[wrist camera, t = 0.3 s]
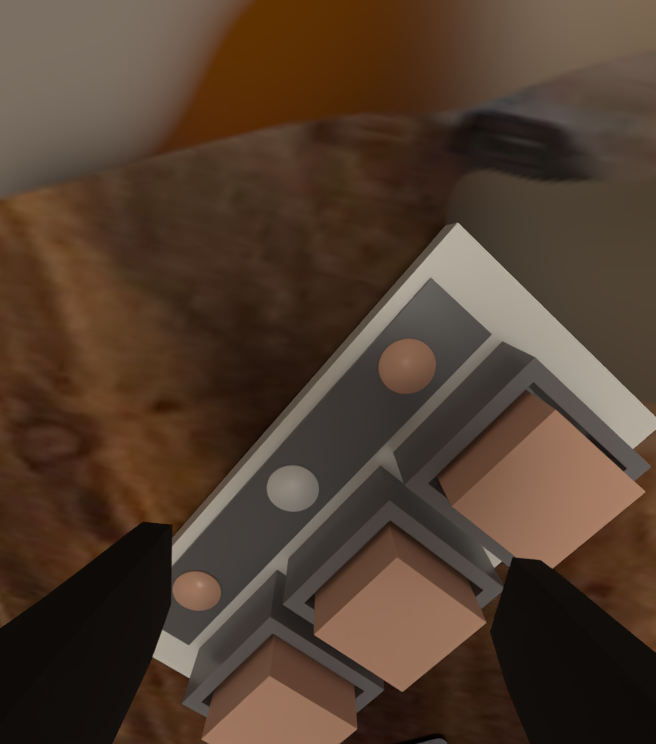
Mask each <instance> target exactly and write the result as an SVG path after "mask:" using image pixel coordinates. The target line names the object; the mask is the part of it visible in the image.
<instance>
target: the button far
mask: <svg viewBox="0 0 656 744" xmlns="http://www.w3.org/2000/svg"><path fill="white" fill-rule="evenodd" d="M356 730H357V716H356V702H355V687H354V684H352V683H351V682H349V681H348V680H346V679H345V678H343V677H341V676H340V675H338V674H337V673H335V672H333V671H332V670H330V669H329V668H327V667H325V666H324V665H322V664H321V663H319V662H318V661H316V660H314V659H313V658H311V657H310V656H308V655H306V654H305V653H303V652H302V651H300V650H298V649H297V648H295V647H294V646H292V645H291V644H289V643H287V642H286V641H284V640H283V639H281V638H279V637H278V636H276V635H275V634H273V633H272V634H271V635H270V636H269V637H268V638H267V639H266V640H265V641H264V642H263V643H262V644H261V645H260V646H259V647H258V648H257V649H256V650H255V651H254V652H253V653H252V654H251V655H250V656H249V657H248V658H247V659H245V660H244V661H243V662H242V663H241V664H240V665H239V666H238V667H237V668H236V669H235V670H234V671H233V672H232V673H231V674H230V675H229V676H228V677H227V678H226V679H225V680H224V681H223V682H222V683H221V684H220V685H218V686H217V687H216V688H215V689H214V691H213V695H212V699H211V703H210V707H209V711H208V715H207V719H206V723H205V727H204V731H203V735H202V740H203V741H205V742H207V743H209V744H340V743H341V742H342V741H343V740H345V739H346V738H347V737H348V736H349V735H351V734H352V733H353V732H354V731H356Z"/></svg>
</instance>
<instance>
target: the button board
mask: <svg viewBox="0 0 656 744" xmlns="http://www.w3.org/2000/svg"><path fill="white" fill-rule="evenodd" d="M525 390H527V391H529V392H530V393H532V394H533V395H535V396H536V397H538V398H539V399H541V400H542V401H544V402H545V403H547V404H548V405H550V406H551V407H553V408H554V409H556V410H557V411H558V412H559V413H560V414H561V415H562V416H563V417H565V418H566V419H567V420H568V421H569V422H570V423H571V424H572V425H573V426H574V427H575V428H576V429H578V430H579V431H580V432H581V433H582V434H583V435H584V436H585V437H586V438H587V439H588V440H590V441H591V442H592V443H593V444H594V445H595V446H596V447H597V448H598V449H599V450H600V451H602V452H603V453H604V454H605V455H606V456H607V457H608V458H609V459H610V460H611V461H612V462H614V463H615V464H616V465H617V466H618V467H619V468H620V469H621V470H622V471H623V472H624V473H625V474H627V475H628V476H629V477H630V478H631V479H632V480H633V481H635V480H636V479H637V478H638V477H640V476H641V475H642V474H643V473H644V472H646V471H647V470H648V469H649V468H650V467H651V466H650V465H649V464H648V463H647V462H646V461H645V460H644V459H643V458H642V457H641V456H640V455H638V454H637V453H636V452H635V451H634V450H633V448H635V447H636V446H637V445H638V444H639V443H640V442H642V441H643V440H644V439H645V438H646V437H647V436H649V435H650V434H651V433H652V432H653V431H654V430H656V417H655V416H654V415H653V414H652V413H651V412H650V411H649V410H648V409H647V408H646V407H645V406H644V405H643V404H642V403H641V402H640V401H639V400H638V399H637V398H636V397H635V396H634V395H633V394H632V393H631V392H629V391H628V390H627V389H626V388H625V387H624V386H623V385H622V384H621V383H620V382H619V381H618V380H617V379H616V378H615V377H614V376H613V375H612V374H611V373H610V372H609V371H608V370H607V369H606V368H605V367H604V366H603V365H602V364H601V363H600V362H599V361H598V360H597V359H596V358H595V357H594V356H593V355H592V354H591V353H590V352H589V351H588V350H587V349H586V348H585V347H584V346H583V345H582V344H581V343H580V342H578V340H577V339H575V338H574V337H573V335H572V334H571V333H570V332H568V331H567V330H566V329H565V328H564V327H563V326H562V325H561V324H560V323H559V322H558V321H557V320H556V319H555V318H554V317H553V316H552V315H551V314H550V313H549V312H548V311H547V310H546V309H545V308H544V307H543V306H542V305H541V304H540V303H539V302H538V301H537V300H536V299H535V298H534V297H533V296H532V295H531V294H530V293H529V292H528V291H527V290H525V288H524V287H523V286H522V285H521V284H519V282H518V281H517V280H516V279H514V277H513V276H511V274H510V273H508V272H507V271H506V270H505V269H504V268H503V267H502V266H501V265H500V264H499V263H498V262H497V261H496V260H495V259H494V258H493V257H492V256H491V255H490V254H489V253H488V252H487V251H486V250H485V249H484V248H483V247H482V246H481V245H480V244H479V243H478V242H477V241H476V240H475V239H474V238H473V237H472V236H471V235H470V234H469V233H468V232H467V231H466V230H465V229H464V228H463V227H462V226H461V225H460V224H459V223H454V224H450V225H446V226H445V227H444V228H443V229H442V230H441V231H440V232H439V234H438V235H437V236H436V237H435V238H434V239H433V240H432V242H431V243H430V244H429V245H428V246H427V247H426V248H425V250H424V251H423V252H422V253H421V254H420V255H419V256H418V258H417V259H416V260H415V261H414V262H413V263H412V264H411V266H410V267H409V268H408V269H407V270H406V271H405V272H404V274H403V275H402V276H401V277H400V278H399V279H398V280H397V282H396V283H395V284H394V285H393V286H392V287H391V288H390V290H389V291H388V292H387V293H386V294H385V295H384V296H383V298H382V299H381V300H380V301H379V302H378V303H377V304H376V306H375V307H374V308H373V309H372V310H371V311H370V312H369V314H368V315H367V316H366V317H365V318H364V319H363V320H362V322H361V323H360V324H359V325H358V326H357V327H356V328H355V330H354V331H353V332H352V333H351V334H350V335H349V336H348V338H347V339H346V340H345V341H344V342H343V343H342V344H341V346H340V347H339V348H338V349H337V350H336V351H335V352H334V354H333V355H332V356H331V357H330V358H329V359H328V360H327V362H326V363H325V364H324V365H323V366H322V367H321V368H320V370H319V371H318V372H317V373H316V374H315V375H314V376H313V378H312V379H311V380H310V381H309V382H308V383H307V384H306V386H305V387H304V388H303V389H302V390H301V391H300V392H299V394H298V395H297V396H296V397H295V398H294V399H293V400H292V402H291V403H290V404H289V405H288V406H287V407H286V408H285V409H284V411H283V412H282V413H281V414H280V415H279V416H278V417H277V419H276V420H275V421H274V422H273V423H272V424H271V425H270V427H269V428H268V429H267V430H266V431H265V432H264V433H263V435H262V436H261V437H260V438H259V439H258V440H257V441H256V443H255V444H254V445H253V446H252V447H251V448H250V449H249V451H248V452H247V453H246V454H245V455H244V456H243V457H242V459H241V460H240V461H239V462H238V463H237V464H236V465H235V467H234V468H233V469H232V470H231V471H230V472H229V473H228V475H227V476H226V477H225V478H224V479H223V480H222V481H221V483H220V484H219V485H218V486H217V487H216V488H215V489H214V491H213V492H212V493H211V494H210V495H209V496H208V497H207V499H206V500H205V501H204V502H203V503H202V504H201V505H200V507H199V508H198V509H197V510H196V511H195V512H194V513H193V515H192V516H191V517H190V518H189V519H188V520H187V521H186V523H185V524H184V525H183V526H182V527H181V528H180V529H179V531H178V532H177V533H176V534H175V535H174V536H173V537H172V589H171V606H170V609H169V612H168V615H167V618H166V621H165V624H164V627H163V629H162V632H161V635H160V638H159V641H158V643H157V646H156V649H155V652H154V654H153V657H154V658H155V659H157V660H159V661H161V662H162V663H164V664H166V665H167V666H169V667H171V668H173V669H174V670H176V671H178V672H180V673H181V674H183V675H185V676H187V677H188V678H190V679H189V682H188V685H187V688H186V691H185V695H184V698H183V701H182V704H183V705H185V706H187V707H189V708H190V709H192V710H194V711H196V712H198V713H199V714H201V715H203V716H205V717H207V715H208V711H209V707H210V703H211V699H212V695H213V691H214V689H215V688H216V687H217V686H218V685H220V684H221V683H222V682H223V681H224V680H225V679H226V678H227V677H228V676H229V675H230V674H231V673H232V672H233V671H234V670H235V669H236V668H237V667H238V666H239V665H240V664H241V663H242V662H243V661H244V660H245V659H247V658H248V657H249V656H250V655H251V654H252V653H253V652H254V651H255V650H256V649H257V648H258V647H259V646H260V645H261V644H262V643H263V642H264V641H265V640H266V639H267V638H268V637H269V636H270V635H271V634H272V633H273V634H275V635H276V636H278V637H279V638H281V639H283V640H284V641H286V642H287V643H289V644H291V645H292V646H294V647H295V648H297V649H298V650H300V651H302V652H303V653H305V654H306V655H308V656H310V657H311V658H313V659H314V660H316V661H318V662H319V663H321V664H322V665H324V666H325V667H327V668H329V669H330V670H332V671H333V672H335V673H337V674H338V675H340V676H341V677H343V678H345V679H346V680H348V681H349V682H351V683H352V684H354V687H355V702H356V713H357V712H358V711H360V710H361V709H362V708H363V707H364V706H366V705H367V704H368V703H369V702H370V701H372V700H373V699H374V698H375V697H376V696H378V695H379V694H380V693H381V692H382V691H384V683H383V679H382V678H380V677H379V676H377V675H376V674H374V673H372V672H371V671H369V670H368V669H366V668H365V667H363V666H362V665H360V664H358V663H357V662H355V661H354V660H352V659H351V658H349V657H348V656H346V655H345V654H343V653H341V652H340V651H338V650H337V649H335V648H334V647H332V646H331V645H329V644H327V643H326V642H324V641H323V640H321V639H320V638H318V637H317V636H315V635H314V611H315V592H316V591H317V590H318V589H319V588H320V587H321V586H322V585H323V584H324V583H325V582H326V581H327V580H329V579H330V578H331V577H332V576H333V575H334V574H335V573H336V572H337V571H338V570H339V569H340V568H341V567H342V566H343V565H344V564H345V563H346V562H347V561H348V560H349V559H350V558H351V557H352V556H353V555H354V554H356V553H357V552H358V551H359V550H360V549H361V548H362V547H363V546H364V545H365V544H366V543H367V542H368V541H369V540H370V539H371V538H372V537H373V536H374V535H375V534H376V533H377V532H378V531H379V530H380V529H381V528H383V527H384V526H385V525H386V524H387V523H388V522H389V521H390V520H391V521H392V522H393V523H395V524H396V525H397V526H399V527H400V528H401V529H403V530H404V531H405V532H407V533H408V534H409V535H411V536H412V537H413V538H415V539H416V540H417V541H419V542H420V543H421V544H423V545H424V546H425V547H427V548H428V549H429V550H431V551H432V552H433V553H435V554H436V555H437V556H439V557H440V558H441V559H443V560H444V561H445V562H447V563H448V564H449V565H451V566H452V567H453V568H455V569H456V570H457V571H459V572H460V573H461V574H463V575H464V576H465V577H467V579H468V581H469V584H470V586H471V588H472V590H473V593H474V595H475V597H476V599H477V602H478V604H479V606H480V609H482V608H483V607H484V606H485V605H486V604H488V603H489V602H490V601H491V600H492V599H494V598H495V597H496V596H497V595H498V594H500V593H501V592H502V591H503V587H504V585H503V583H502V582H501V580H500V578H499V576H498V574H497V572H496V570H495V569H494V568H495V567H496V566H497V565H498V564H499V563H500V562H503V563H505V564H506V565H507V566H509V567H510V564H511V560H512V557H515V556H514V555H513V554H512V553H510V552H509V551H508V550H506V549H505V548H504V547H503V546H501V545H500V544H499V543H498V542H496V541H495V540H494V539H493V538H491V537H490V536H489V535H487V534H486V533H485V532H484V531H482V530H481V529H480V528H479V527H477V526H476V525H475V524H474V523H472V522H471V521H470V520H468V519H467V518H466V517H465V516H463V515H462V514H461V513H460V512H458V511H457V510H456V509H455V508H453V507H452V506H451V504H450V502H449V500H448V498H447V496H446V494H445V492H444V490H443V488H442V486H441V484H440V482H439V480H438V478H437V476H436V475H438V474H439V473H440V472H441V471H442V470H443V469H444V468H445V467H446V466H447V465H448V464H449V463H450V462H451V461H452V460H453V459H454V458H455V457H456V456H457V455H458V454H459V453H460V452H461V451H462V450H463V449H465V448H466V447H467V446H468V445H469V444H470V443H471V442H472V441H473V440H474V439H475V438H476V437H477V436H478V435H479V434H480V433H481V432H482V431H483V430H484V429H485V428H486V427H487V426H488V425H489V424H490V423H492V422H493V421H494V420H495V419H496V418H497V417H498V416H499V415H500V414H501V413H502V412H503V411H504V410H505V409H506V408H507V407H508V406H509V405H510V404H511V403H512V402H513V401H514V400H515V399H516V398H517V397H519V396H520V395H521V394H522V393H523V392H524V391H525ZM516 558H517V557H516Z"/></svg>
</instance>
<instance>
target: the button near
mask: <svg viewBox="0 0 656 744" xmlns="http://www.w3.org/2000/svg"><path fill="white" fill-rule="evenodd" d="M436 476H437V478H438V480H439V482H440V484H441V486H442V488H443V490H444V492H445V494H446V496H447V498H448V500H449V502H450V504H451V506H452V507H453V508H455V509H456V510H457V511H458V512H460V513H461V514H462V515H463V516H465V517H466V518H467V519H468V520H470V521H471V522H472V523H474V524H475V525H476V526H477V527H479V528H480V529H481V530H482V531H484V532H485V533H486V534H487V535H489V536H490V537H491V538H493V539H494V540H495V541H496V542H498V543H499V544H500V545H501V546H503V547H504V548H505V549H506V550H508V551H509V552H510V553H512V554H513V555H514V556H515V557H517V558H527V559H537V560H541V561H543V562H544V563H545V564H547V565H548V566H549V567H551V568H554V567H555V566H556V565H557V564H558V563H560V562H561V561H562V560H563V559H564V558H566V557H567V556H568V555H569V554H571V553H572V552H573V551H574V550H575V549H577V548H578V547H579V546H580V545H581V544H583V543H584V542H585V541H586V540H588V539H589V538H590V537H591V536H592V535H594V534H595V533H596V532H597V531H599V530H600V529H601V528H602V527H603V526H605V525H606V524H607V523H608V522H609V521H611V520H612V519H613V518H614V517H616V516H617V515H618V514H619V513H620V512H622V511H623V510H624V509H625V508H626V507H628V506H629V505H630V504H631V503H633V502H634V501H635V500H636V499H637V498H639V497H640V496H641V495H642V494H643V493H645V491H644V490H643V489H642V488H641V487H640V486H639V485H637V484H636V483H635V482H634V481H633V480H632V479H631V478H630V477H629V476H628V475H627V474H625V473H624V472H623V471H622V470H621V469H620V468H619V467H618V466H617V465H616V464H615V463H614V462H612V461H611V460H610V459H609V458H608V457H607V456H606V455H605V454H604V453H603V452H602V451H600V450H599V449H598V448H597V447H596V446H595V445H594V444H593V443H592V442H591V441H590V440H588V439H587V438H586V437H585V436H584V435H583V434H582V433H581V432H580V431H579V430H578V429H576V428H575V427H574V426H573V425H572V424H571V423H570V422H569V421H568V420H567V419H566V418H565V417H563V416H562V415H561V414H560V413H559V412H558V411H557V410H556V409H554V408H553V407H551V406H550V405H548V404H547V403H545V402H544V401H542V400H541V399H539V398H538V397H536V396H535V395H533V394H532V393H530V392H529V391H527V390H525V391H524V392H523V393H522V394H521V395H520V396H519V397H517V398H516V399H515V400H514V401H513V402H512V403H511V404H510V405H509V406H508V407H507V408H506V409H505V410H504V411H503V412H502V413H501V414H500V415H499V416H498V417H497V418H496V419H495V420H494V421H493V422H492V423H490V424H489V425H488V426H487V427H486V428H485V429H484V430H483V431H482V432H481V433H480V434H479V435H478V436H477V437H476V438H475V439H474V440H473V441H472V442H471V443H470V444H469V445H468V446H467V447H466V448H465V449H463V450H462V451H461V452H460V453H459V454H458V455H457V456H456V457H455V458H454V459H453V460H452V461H451V462H450V463H449V464H448V465H447V466H446V467H445V468H444V469H443V470H442V471H441V472H440V473H439V474H438V475H436Z"/></svg>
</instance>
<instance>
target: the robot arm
mask: <svg viewBox="0 0 656 744" xmlns="http://www.w3.org/2000/svg"><path fill="white" fill-rule="evenodd" d="M171 589H172V525H170V524H159V523H149V522H142V523H140V524H139V525H138V526H137V527H135V528H134V529H133V530H131V531H130V532H129V533H127V534H126V535H125V536H123V537H122V538H121V539H119V540H118V541H117V542H116V543H114V544H113V545H112V546H110V547H109V548H108V549H107V550H105V551H104V552H103V553H101V554H100V555H99V556H98V557H96V558H95V559H94V560H92V561H91V562H90V563H89V564H87V565H86V566H85V567H83V568H82V569H81V570H80V571H78V572H77V573H76V574H74V575H73V576H72V577H70V578H69V579H68V580H66V581H65V582H64V583H62V584H61V585H60V586H58V587H57V588H56V589H54V590H53V591H52V592H50V593H49V594H48V595H46V596H45V597H44V598H42V599H41V600H40V601H38V602H37V603H35V604H34V605H33V606H31V607H30V608H29V609H27V610H26V611H24V612H23V613H21V614H20V615H19V616H17V617H16V618H14V619H13V620H11V621H10V622H9V623H7V624H6V625H4V626H3V627H1V628H0V744H112V743H113V741H114V739H115V737H116V735H117V733H118V730H119V728H120V726H121V724H122V722H123V720H124V718H125V716H126V713H127V711H128V709H129V707H130V705H131V703H132V701H133V698H134V696H135V694H136V692H137V690H138V688H139V686H140V683H141V681H142V679H143V677H144V675H145V673H146V671H147V668H148V666H149V664H150V662H151V660H152V657H153V654H154V652H155V649H156V646H157V643H158V641H159V638H160V635H161V632H162V629H163V627H164V624H165V621H166V618H167V615H168V612H169V609H170V606H171ZM490 633H491V636H492V640H493V643H494V647H495V650H496V654H497V657H498V661H499V664H500V667H501V670H502V673H503V676H504V680H505V683H506V686H507V689H508V691H509V694H510V696H511V699H512V701H513V704H514V706H515V708H516V711H517V713H518V716H519V718H520V720H521V723H522V725H523V728H524V730H525V732H526V735H527V737H528V740H529V742H530V744H656V653H655V652H654V651H653V650H652V649H650V648H649V647H648V646H647V645H645V644H644V643H643V642H642V641H640V640H639V639H638V638H637V637H636V636H634V635H633V634H632V633H631V632H629V631H628V630H627V629H626V628H625V627H623V626H622V625H621V624H620V623H618V622H617V621H616V620H615V619H614V618H612V617H611V616H610V615H609V614H608V613H606V612H605V611H604V610H603V609H601V608H600V607H599V606H598V605H597V604H595V603H594V602H593V601H592V600H591V599H589V598H588V597H587V596H586V595H585V594H583V593H582V592H581V591H580V590H578V589H577V588H576V587H575V586H573V585H572V584H571V583H570V582H569V581H567V580H566V579H565V578H564V577H562V576H561V575H560V574H559V573H557V572H556V571H555V570H553V569H552V568H551V567H549V566H548V565H547V564H545V563H544V562H543V561H541V560H537V559H527V558H516V557H512V560H511V564H510V567H509V570H508V574H507V577H506V581H505V584H504V587H503V591H502V594H501V597H500V601H499V604H498V607H497V611H496V614H495V617H494V621H493V624H492V628H491V631H490ZM417 744H447V742H446V741H445V740H443V739H440V738H438V739H433V740H429V741H425V742H421V743H417Z"/></svg>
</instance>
